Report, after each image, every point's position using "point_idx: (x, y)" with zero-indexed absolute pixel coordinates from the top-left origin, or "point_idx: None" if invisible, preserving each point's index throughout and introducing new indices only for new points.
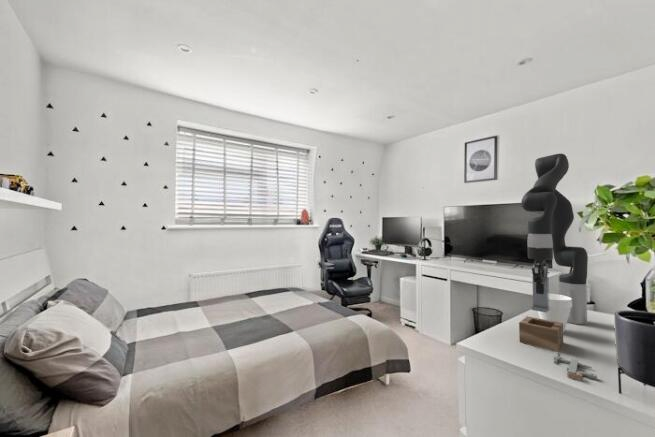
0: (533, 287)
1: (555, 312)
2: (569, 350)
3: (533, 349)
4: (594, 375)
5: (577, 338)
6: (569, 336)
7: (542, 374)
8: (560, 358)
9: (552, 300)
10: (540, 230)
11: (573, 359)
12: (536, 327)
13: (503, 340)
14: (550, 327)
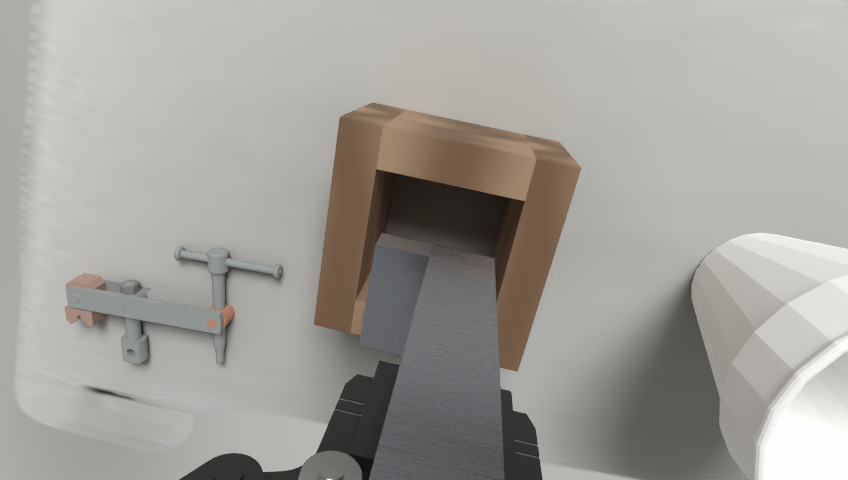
0: (397, 375)
1: (717, 371)
2: None
3: (301, 171)
4: (126, 356)
5: (634, 375)
6: (652, 346)
7: (32, 197)
8: (217, 275)
9: (758, 426)
10: None
11: (211, 320)
12: (329, 221)
13: (339, 10)
14: None
